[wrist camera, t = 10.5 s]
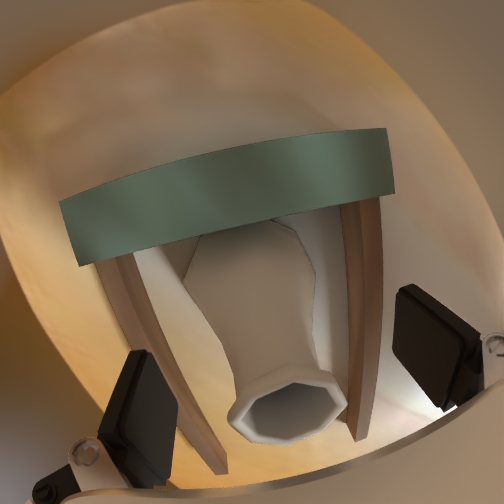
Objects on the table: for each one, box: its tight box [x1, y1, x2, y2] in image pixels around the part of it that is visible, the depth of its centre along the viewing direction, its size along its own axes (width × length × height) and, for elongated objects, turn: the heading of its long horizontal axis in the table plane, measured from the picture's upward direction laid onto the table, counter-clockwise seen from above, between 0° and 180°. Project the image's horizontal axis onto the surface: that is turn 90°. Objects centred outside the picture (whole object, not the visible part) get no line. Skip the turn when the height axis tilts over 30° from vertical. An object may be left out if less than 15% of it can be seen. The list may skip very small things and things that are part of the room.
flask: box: [182, 219, 348, 446], centre depth 11 cm, size 7×7×10 cm
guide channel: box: [59, 128, 395, 475], centre depth 16 cm, size 14×25×4 cm, turn 12°
